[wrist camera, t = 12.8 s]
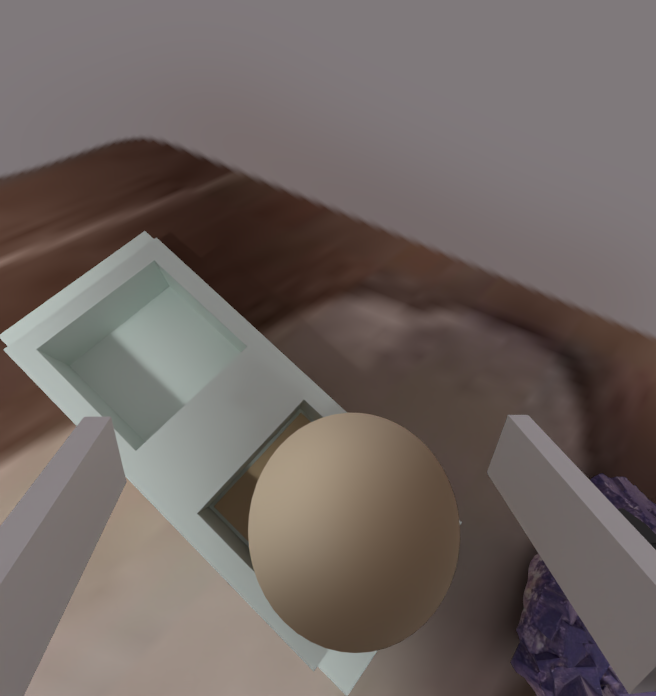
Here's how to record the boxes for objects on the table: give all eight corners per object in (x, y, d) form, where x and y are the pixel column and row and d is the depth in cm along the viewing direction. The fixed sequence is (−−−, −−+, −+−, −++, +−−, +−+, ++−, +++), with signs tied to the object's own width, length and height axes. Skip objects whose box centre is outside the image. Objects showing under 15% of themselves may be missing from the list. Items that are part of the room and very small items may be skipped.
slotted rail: (16, 344, 22) (-47, 315, 18) (152, 244, 25) (126, 198, 21) (341, 679, 19) (360, 740, 15) (450, 518, 22) (491, 531, 18)
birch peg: (237, 509, 19) (199, 536, 8) (301, 435, 21) (343, 373, 10) (309, 580, 18) (377, 715, 7) (369, 497, 20) (496, 505, 9)
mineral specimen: (713, 578, 24) (803, 598, 20) (638, 816, 19) (737, 905, 15) (572, 456, 25) (630, 452, 21) (467, 651, 20) (517, 693, 16)
